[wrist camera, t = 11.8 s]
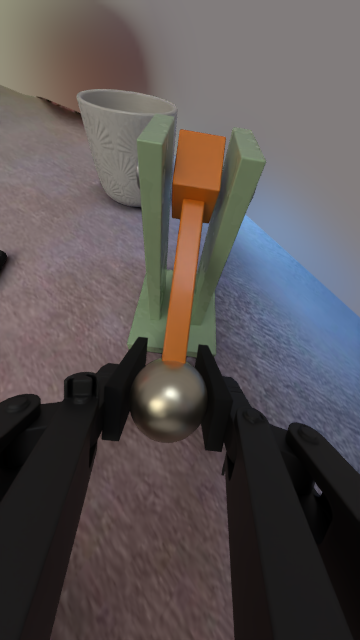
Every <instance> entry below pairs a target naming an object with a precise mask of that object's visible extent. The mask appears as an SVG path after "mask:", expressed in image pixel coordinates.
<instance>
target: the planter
mask: <svg viewBox="0 0 360 640" xmlns="http://www.w3.org/2000/svg"><path fill="white" fill-rule="evenodd" d="M77 101H78V104H79V108H80V112H81V116H82V119H83V123H84V127H85V131H86V135H87V138H88V142H89V146H90V150H91V153H92V157H93V160H94V164H95V167H96V170H97V174H98V177H99V179H100V182H101V185H102V187H103V189H104V190H105V192H106V193H107V194H108V196H109V197H111V198H112V199H113V200H115V201H116V202H118V203H121V204H123V205H127V206H132V207H141V195H140V189H139V188H138V184H137V178H136V164H137V158H138V154H137V138H138V137H139V136H140V134H141V133H142V131H143V130H144V129H145V127H146V126H147V125H148V123H149V122H150V120H151V119H152V118H153V116H154V115H155V114H156V113H157V114H162V115H168V116H173V117H174V118H175V121H174V140H173V158H174V146H175V135H176V123H177V111H178V110H177V107H176V106H175V105H174V104H173V103H171V102H169V101H167V100H164V99H161V98H158V97H155V96H151V95H147V94H142V93H136V92H130V91H122V90H108V89H96V90H86V91H82V92H80V93H78V94H77ZM172 168H173V159H172Z"/></svg>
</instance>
